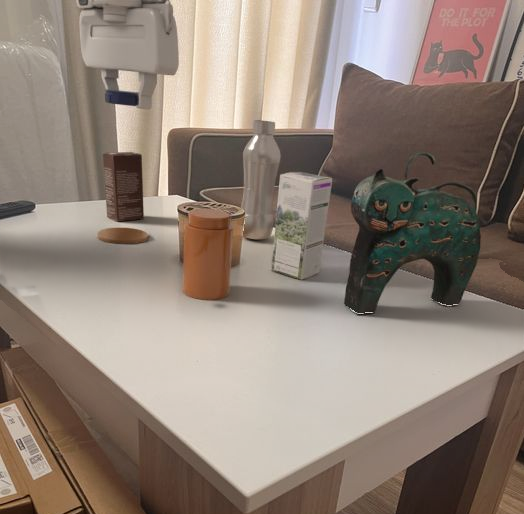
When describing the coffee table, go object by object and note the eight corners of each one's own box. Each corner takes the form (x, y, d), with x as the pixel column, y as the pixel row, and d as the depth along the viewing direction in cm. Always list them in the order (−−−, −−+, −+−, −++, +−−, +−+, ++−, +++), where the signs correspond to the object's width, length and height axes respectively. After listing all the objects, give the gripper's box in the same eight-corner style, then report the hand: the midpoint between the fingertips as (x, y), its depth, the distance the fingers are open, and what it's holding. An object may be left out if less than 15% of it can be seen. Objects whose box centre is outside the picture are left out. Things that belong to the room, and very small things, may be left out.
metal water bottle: (244, 231, 101) (253, 118, 92) (277, 238, 99) (289, 123, 90) (230, 238, 95) (238, 119, 86) (265, 245, 93) (276, 124, 84)
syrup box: (320, 273, 82) (334, 176, 75) (300, 281, 77) (313, 179, 71) (290, 264, 85) (301, 170, 78) (269, 271, 80) (278, 172, 74)
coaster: (104, 245, 85) (104, 241, 85) (92, 231, 91) (92, 228, 91) (154, 242, 89) (154, 239, 88) (139, 229, 95) (139, 226, 95)
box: (132, 214, 105) (131, 151, 100) (144, 219, 102) (143, 154, 97) (104, 217, 101) (101, 151, 96) (116, 222, 98) (113, 154, 93)
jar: (194, 302, 66) (197, 220, 62) (175, 285, 71) (176, 208, 66) (237, 296, 69) (243, 218, 65) (216, 281, 74) (220, 207, 69)
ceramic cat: (349, 319, 66) (379, 151, 57) (325, 300, 71) (349, 143, 62) (471, 309, 73) (515, 159, 64) (441, 293, 78) (478, 151, 70)
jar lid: (158, 108, 77) (158, 95, 76) (115, 104, 74) (115, 91, 73) (140, 104, 82) (140, 92, 81) (99, 101, 78) (99, 88, 78)
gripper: (191, -3, 67) (188, 114, 74) (108, 1, 80) (112, 101, 86) (150, -13, 63) (150, 112, 69) (69, -7, 76) (75, 99, 82)
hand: (128, 106), depth 78 cm, fingers closed on jar lid, 6 cm apart
